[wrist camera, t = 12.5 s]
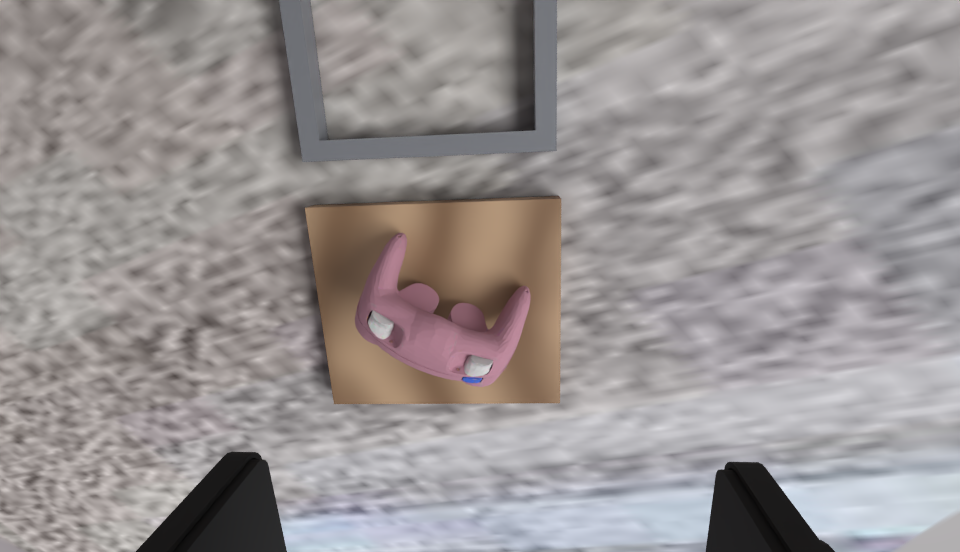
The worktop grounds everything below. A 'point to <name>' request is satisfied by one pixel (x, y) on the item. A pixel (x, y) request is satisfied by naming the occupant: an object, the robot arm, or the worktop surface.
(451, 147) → the frame
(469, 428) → the worktop surface
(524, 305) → the video game controller
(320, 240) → the walnut board
